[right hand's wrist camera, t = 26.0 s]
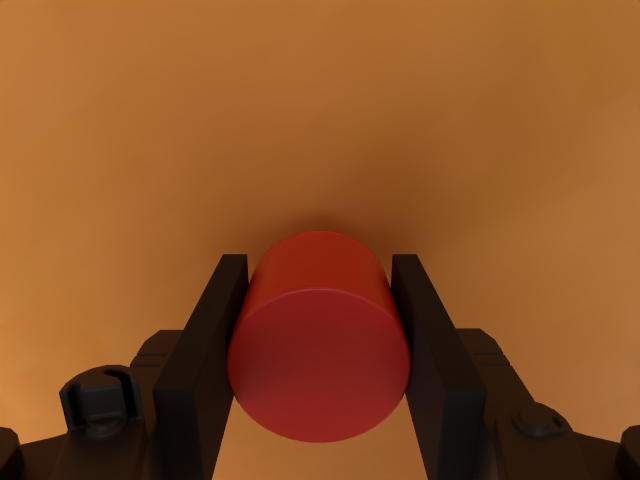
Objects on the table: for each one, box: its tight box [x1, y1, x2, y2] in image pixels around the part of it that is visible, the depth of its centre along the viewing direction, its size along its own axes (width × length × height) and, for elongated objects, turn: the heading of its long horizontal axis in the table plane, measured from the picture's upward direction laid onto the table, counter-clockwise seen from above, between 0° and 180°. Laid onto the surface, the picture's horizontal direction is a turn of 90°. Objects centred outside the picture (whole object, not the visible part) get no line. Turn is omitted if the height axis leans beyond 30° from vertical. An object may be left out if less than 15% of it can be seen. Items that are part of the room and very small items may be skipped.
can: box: [227, 231, 412, 443], centre depth 13 cm, size 5×5×4 cm
